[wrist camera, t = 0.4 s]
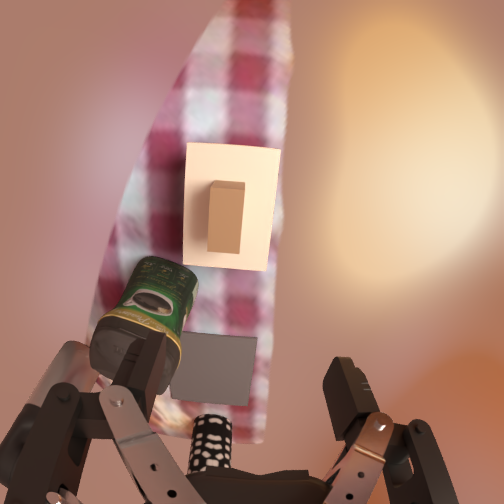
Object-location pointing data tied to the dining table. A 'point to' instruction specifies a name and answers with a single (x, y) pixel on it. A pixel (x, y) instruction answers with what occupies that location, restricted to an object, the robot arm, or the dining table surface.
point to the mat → (214, 369)
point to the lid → (229, 205)
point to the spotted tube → (210, 443)
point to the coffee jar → (146, 316)
